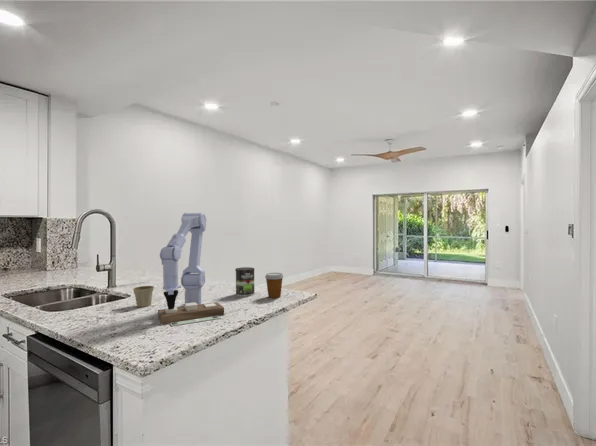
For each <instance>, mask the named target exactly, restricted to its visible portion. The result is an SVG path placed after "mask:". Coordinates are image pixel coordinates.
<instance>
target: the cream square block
mask: <svg viewBox="0 0 596 446" xmlns="http://www.w3.org/2000/svg"><path fill="white" fill-rule="evenodd" d="M164 309H165V314H169V313H176V312H178V309H177V306H174V309H168V307H165V308H164Z"/></svg>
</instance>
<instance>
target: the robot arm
mask: <svg viewBox="0 0 596 446" xmlns="http://www.w3.org/2000/svg"><path fill="white" fill-rule="evenodd" d="M180 221H181V224H180V227H179V229H178V232H177V233H174V234H173V235H172V237H171V239H170V240H169V242H168V243H167V244H166V246H164V247H162V248H161V250H160V252H159V258H160V260H161V265H162V270H163V271H162V273H163V275H162V276H163V277H162V278H163V283H162V284H163V286H162V290H164V291H163V296H164V298H165V300H166V305H167V308H168V309H174V307H176V306H175V305H176V299H177V296H178V294H179V290H178V289H180V288H182V287H183V289H184V303H183V304H182V307H185V304H186V303H194V302H196V303H197V304H198V305H200V304H202V288H203V287H204V285H205V283H206V275H205V272H206V271H205V270H204V269H202V267H201V266H200V265H201V264H200V263H201V255H202V246H203V233H204V232H205V231H206V227H207V217H206V215H205V213H204V212H184V213H182V216H181V220H180ZM188 233H191V237H190V238H191V239H190V248H189V257H188V266H187V267H186V268H185V269H183V270H182V274H181V277H180V285H179V260H180V259H181V256H182V255H181V254H182V248H183V247H184V245H185V243H186V236H187V235H188Z"/></svg>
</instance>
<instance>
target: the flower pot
mask: <svg viewBox="0 0 596 446" xmlns="http://www.w3.org/2000/svg"><path fill="white" fill-rule="evenodd" d="M154 289H155V286H154V285H143V286H136V287H133V288H132V290H133V293H134V296H135V302H136V307H138V308H146V307H149V306H151V305H152V300H153V294H154V293H153V292H154Z"/></svg>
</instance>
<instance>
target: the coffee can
mask: <svg viewBox="0 0 596 446" xmlns="http://www.w3.org/2000/svg"><path fill="white" fill-rule="evenodd" d="M234 271H235V296H238V297H250V296H254V295H255V267H249V266H248V267H247V266H246V267H245V266H244V267H237V268H235V270H234Z"/></svg>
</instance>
